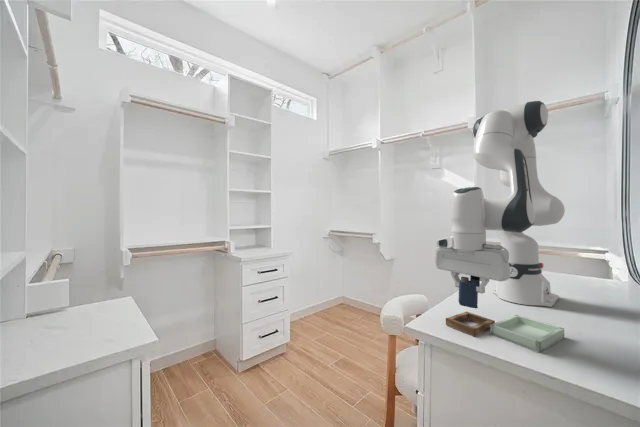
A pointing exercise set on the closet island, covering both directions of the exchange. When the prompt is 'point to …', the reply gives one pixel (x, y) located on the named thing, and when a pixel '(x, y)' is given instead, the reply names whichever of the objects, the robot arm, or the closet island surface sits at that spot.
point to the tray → (527, 332)
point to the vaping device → (468, 291)
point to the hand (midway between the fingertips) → (469, 289)
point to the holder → (470, 330)
